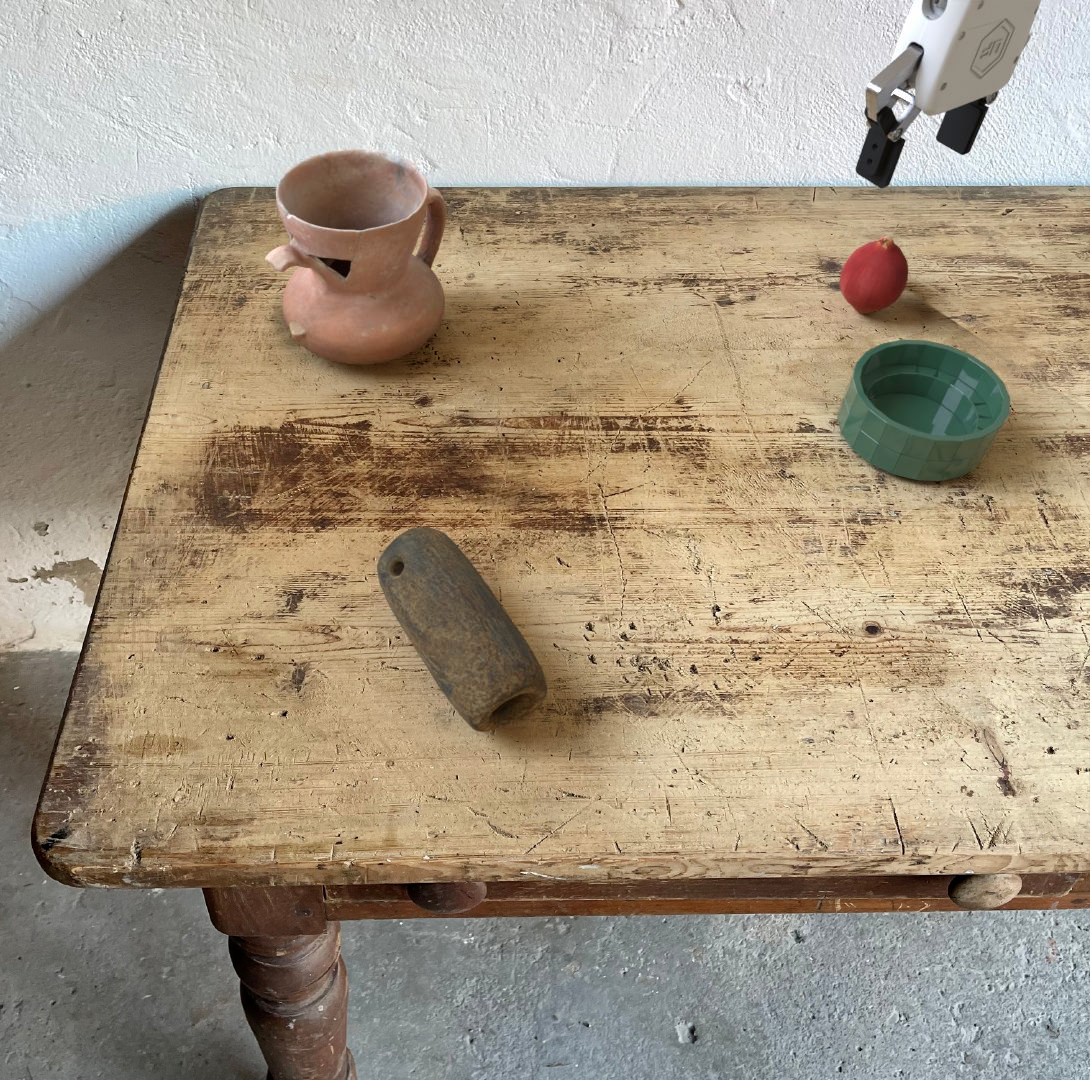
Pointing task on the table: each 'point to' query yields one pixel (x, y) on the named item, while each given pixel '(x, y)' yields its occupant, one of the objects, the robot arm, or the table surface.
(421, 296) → the ceramic jug
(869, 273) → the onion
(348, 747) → the table surface
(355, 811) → the table surface
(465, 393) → the table surface
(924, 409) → the bowl
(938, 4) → the robot arm
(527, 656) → the stone weight
